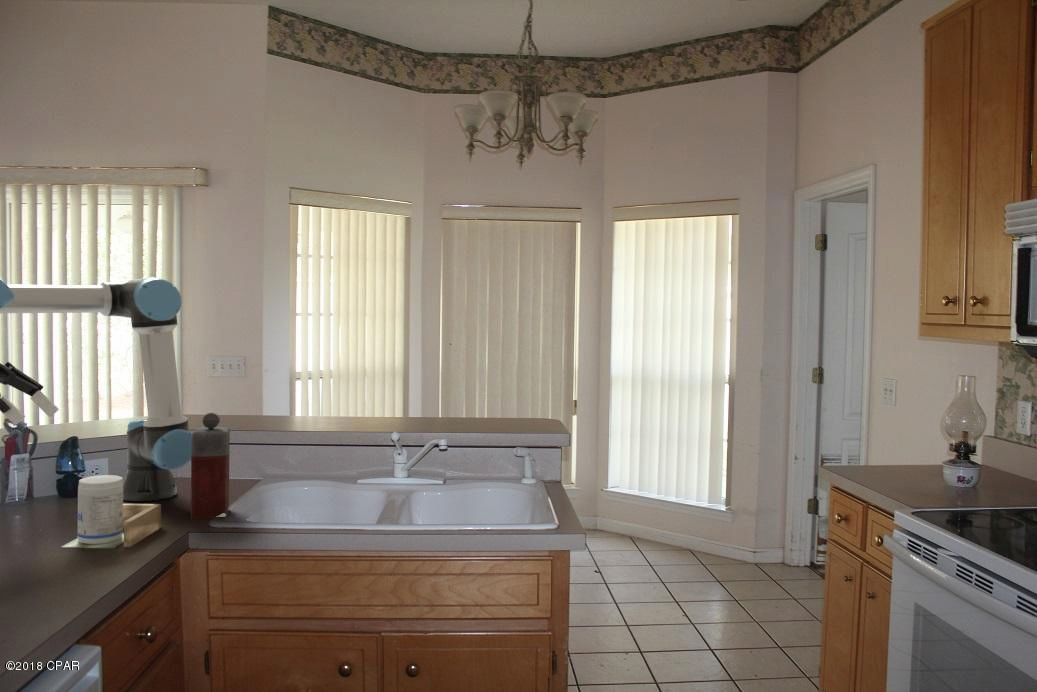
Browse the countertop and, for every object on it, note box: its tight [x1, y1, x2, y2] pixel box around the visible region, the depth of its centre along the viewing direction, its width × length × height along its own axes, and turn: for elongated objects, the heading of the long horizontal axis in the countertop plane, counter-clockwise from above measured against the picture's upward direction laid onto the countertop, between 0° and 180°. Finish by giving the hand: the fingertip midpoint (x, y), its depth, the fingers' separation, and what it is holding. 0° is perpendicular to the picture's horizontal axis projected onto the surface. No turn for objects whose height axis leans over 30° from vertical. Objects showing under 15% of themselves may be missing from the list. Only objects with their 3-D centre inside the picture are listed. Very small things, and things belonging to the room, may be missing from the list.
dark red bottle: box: [190, 411, 231, 520], centre depth 208 cm, size 9×11×28 cm
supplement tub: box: [76, 474, 124, 544], centre depth 181 cm, size 10×10×15 cm
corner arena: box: [60, 503, 162, 549], centre depth 184 cm, size 15×18×6 cm
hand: (38, 416), depth 179 cm, fingers open, 13 cm apart
